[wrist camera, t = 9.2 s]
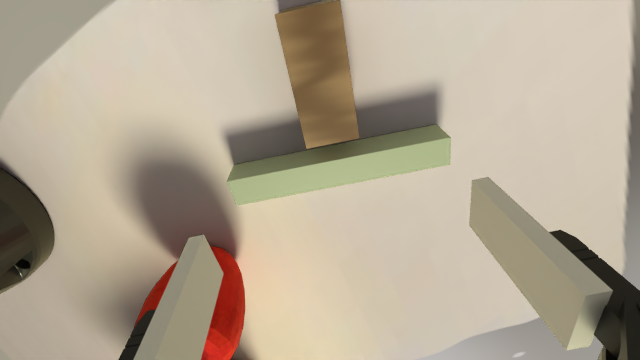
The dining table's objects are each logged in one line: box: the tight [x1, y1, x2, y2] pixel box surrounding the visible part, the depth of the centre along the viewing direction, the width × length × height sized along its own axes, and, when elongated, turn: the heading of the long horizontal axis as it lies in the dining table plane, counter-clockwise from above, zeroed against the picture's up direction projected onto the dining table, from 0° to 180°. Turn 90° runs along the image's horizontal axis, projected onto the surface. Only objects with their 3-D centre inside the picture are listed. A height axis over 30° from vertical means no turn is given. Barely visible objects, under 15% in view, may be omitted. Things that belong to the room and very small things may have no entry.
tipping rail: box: [227, 124, 451, 206], centre depth 26 cm, size 18×2×3 cm, turn 101°
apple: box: [134, 246, 245, 360], centre depth 29 cm, size 9×9×11 cm
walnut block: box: [275, 0, 359, 149], centre depth 22 cm, size 4×4×9 cm
